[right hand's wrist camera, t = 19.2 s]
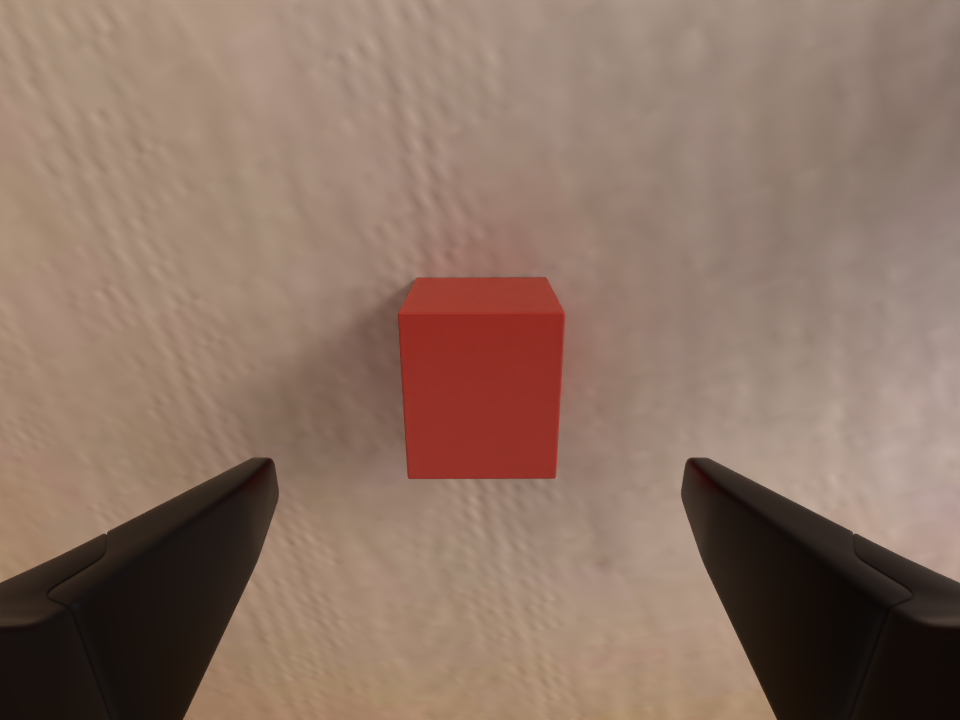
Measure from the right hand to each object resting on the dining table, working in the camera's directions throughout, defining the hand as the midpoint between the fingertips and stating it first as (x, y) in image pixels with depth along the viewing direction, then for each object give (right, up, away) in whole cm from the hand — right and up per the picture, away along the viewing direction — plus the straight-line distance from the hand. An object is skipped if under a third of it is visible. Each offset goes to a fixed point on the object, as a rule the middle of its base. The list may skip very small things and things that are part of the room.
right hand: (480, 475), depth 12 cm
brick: (0, +3, +7) cm, 8 cm away
